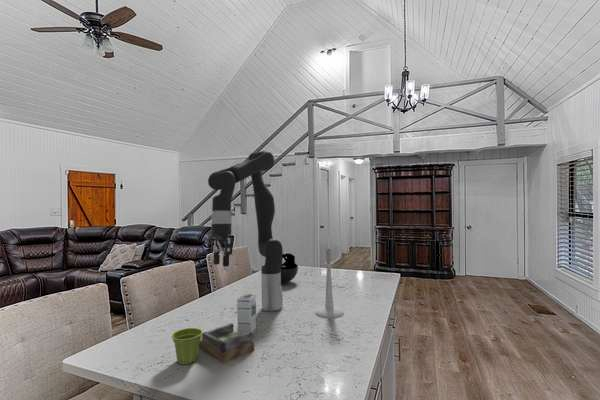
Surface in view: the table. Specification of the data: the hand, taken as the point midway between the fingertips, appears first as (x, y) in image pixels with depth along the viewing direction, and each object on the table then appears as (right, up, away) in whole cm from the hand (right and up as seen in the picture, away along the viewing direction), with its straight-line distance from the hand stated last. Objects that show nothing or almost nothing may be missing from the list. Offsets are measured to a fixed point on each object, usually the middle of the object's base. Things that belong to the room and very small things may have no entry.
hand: (221, 265), depth 121 cm
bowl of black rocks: (+19, -28, +79) cm, 86 cm away
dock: (+3, -27, -10) cm, 29 cm away
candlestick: (+44, -27, +23) cm, 56 cm away
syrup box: (+10, -27, +2) cm, 29 cm away
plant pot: (-6, -27, -18) cm, 33 cm away
